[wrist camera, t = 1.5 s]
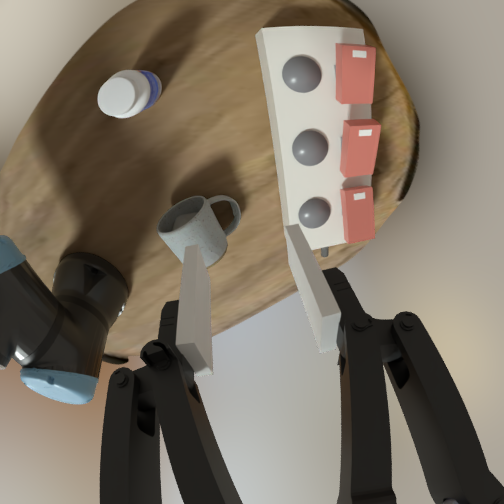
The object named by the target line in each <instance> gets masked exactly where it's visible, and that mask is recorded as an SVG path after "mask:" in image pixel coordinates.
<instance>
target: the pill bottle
mask: <svg viewBox="0 0 504 504" xmlns="http://www.w3.org/2000/svg"><path fill="white" fill-rule="evenodd" d="M161 90H162V85H161V81H160V79H159V78H158V76H157V75H155V74H154V73H152V72H150V71H146V70H123V71H120V72H118V73H116V74H114V75H113V76H112V77H110V78H109V79H108V81H106V82H105V83H104V84H103V85H102V87H101V88H100V90H99V93H98V105H99V107H100V109H101V110H102V111H103V112H104V113H105V114H107V115H110V116H114V117H118V118H128V117H131V116H134V115H136V114H138V113H139V112H141V111H143V110H145V109H147V108H149V107H151V106H153V105H154V104H155V103H156V102H157V100H158V99H159V97H160V95H161Z"/></svg>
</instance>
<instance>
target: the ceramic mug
mask: <svg viewBox="0 0 504 504" xmlns="http://www.w3.org/2000/svg"><path fill="white" fill-rule="evenodd" d="M222 200H226V201H229V202H230V204H231V207H232V210H233V215H234V219H233V221H232V223H231V224H230V225H229V226H228V227H227V228H226V229H225V230H222V228H221V226H220V224H219V222H218V221H217V219H216V217H215V215H214V213H213V211H212V209H211V207H210V205H211V204H212V203H215V202H218V201H222ZM240 219H241V211H240V208H239V205H238V203H237V202H236V201H235V200H234V199H232V198H230V197H228V196H225V195H218V196H214V197H211V198H209V199H207V200H206V198H205V197H203V196H193V197H189V198H187V199H184V200H182V201H180V202H179V203H177V204H175V205H174V206H172V207H171V208H170V209H169V210H168V211H167V212H166V213H165V214H164V215H163V216H162V217H161V219H160V220H159V222H158V225H157V233H158V234H159V236H160V237H161V238H162V239H163V240H164V241H165V243H166V244H167V245H168V246H169V248H170V249H171V250H172V251H173V252H174V253H175V255H176V256H177V257H178V258H179V259H180V261H181V262H182V263H183V261H184V253H185V247H186V246H191V245H196V244H198V245H199V248H200V251H201V254H202V257H203V260H204V263H205V266H206V268H207V269H208V268H210V267H212V266H214V265H215V264H217V263H218V262H219V261H220V260H221V259H222V258H223V256H224V255H225V253H226V250H227V246H228V244H227V239H226V236H228V235H230V234H231V233H232V232H233V231H234V230H235V229H236V228H237V226H238V225H239V222H240Z"/></svg>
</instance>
